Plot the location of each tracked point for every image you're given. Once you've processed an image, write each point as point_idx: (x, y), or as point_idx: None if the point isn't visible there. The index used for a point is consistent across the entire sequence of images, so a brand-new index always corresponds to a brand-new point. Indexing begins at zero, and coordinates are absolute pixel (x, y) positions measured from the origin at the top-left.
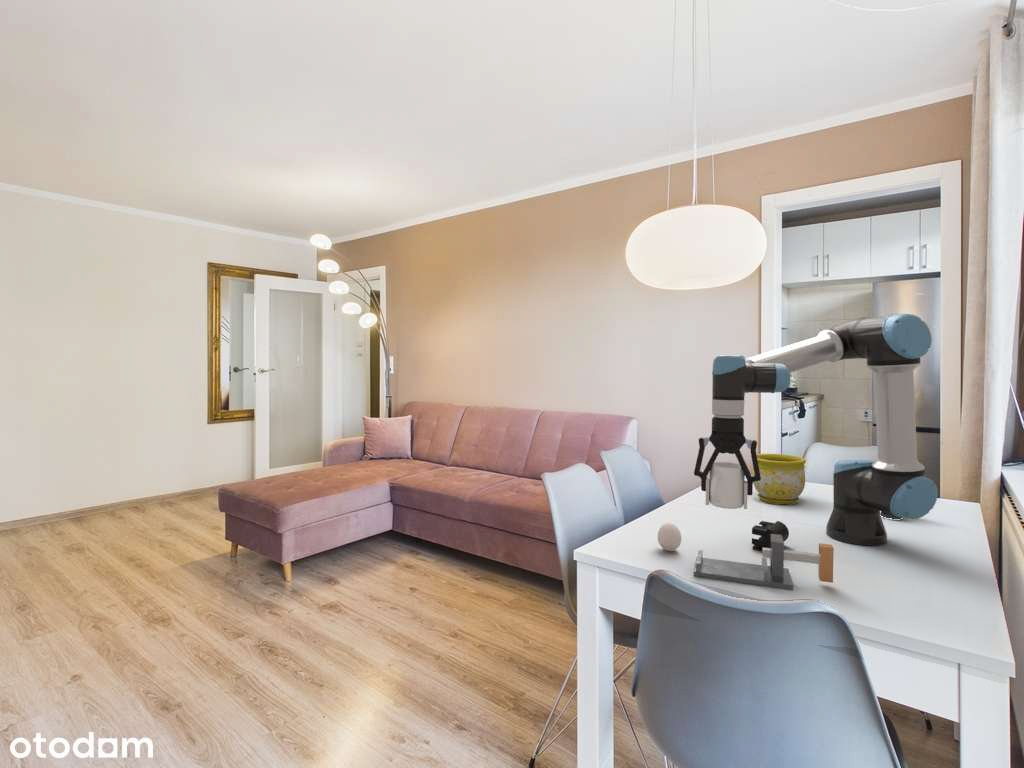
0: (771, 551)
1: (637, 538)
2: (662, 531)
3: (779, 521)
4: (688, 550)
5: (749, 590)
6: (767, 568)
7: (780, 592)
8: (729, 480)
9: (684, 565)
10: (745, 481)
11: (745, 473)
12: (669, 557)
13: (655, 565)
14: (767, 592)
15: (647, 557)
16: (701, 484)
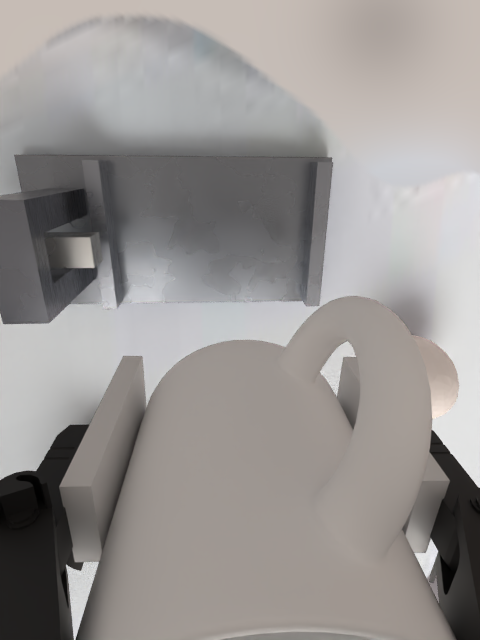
0: (58, 237)
1: (475, 416)
2: (450, 365)
3: (74, 568)
4: (335, 376)
5: (151, 95)
6: (90, 205)
7: (57, 118)
8: (232, 470)
9: (352, 247)
10: (88, 538)
11: (38, 592)
12: (394, 299)
13: (443, 212)
14: (95, 100)
15: (461, 274)
16: (451, 457)
